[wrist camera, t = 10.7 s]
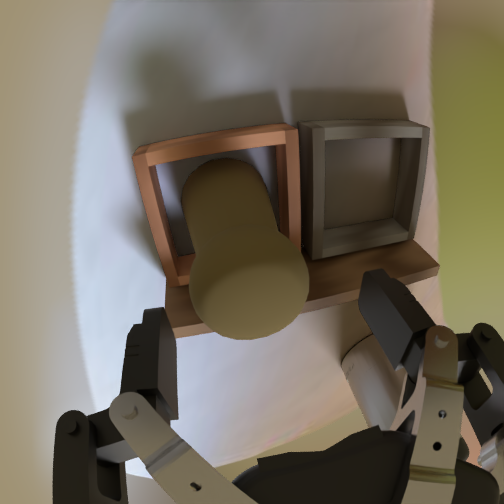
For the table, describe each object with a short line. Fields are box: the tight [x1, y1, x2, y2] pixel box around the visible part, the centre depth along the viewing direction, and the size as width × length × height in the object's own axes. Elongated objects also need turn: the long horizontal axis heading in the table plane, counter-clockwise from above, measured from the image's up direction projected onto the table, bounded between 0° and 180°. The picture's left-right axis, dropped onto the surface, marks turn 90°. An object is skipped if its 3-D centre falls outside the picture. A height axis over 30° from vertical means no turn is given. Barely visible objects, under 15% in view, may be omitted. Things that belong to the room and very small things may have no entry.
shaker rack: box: [132, 119, 440, 338], centre depth 19 cm, size 21×11×6 cm, turn 95°
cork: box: [181, 158, 309, 340], centre depth 16 cm, size 6×6×11 cm
